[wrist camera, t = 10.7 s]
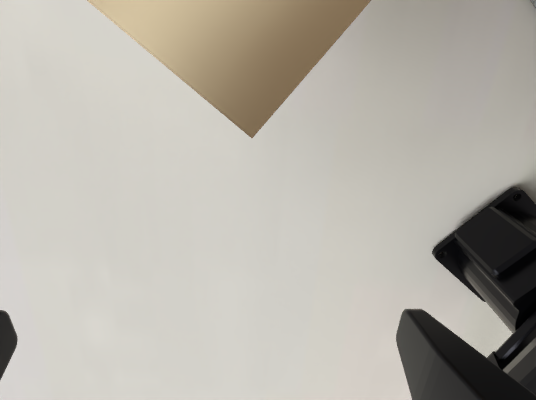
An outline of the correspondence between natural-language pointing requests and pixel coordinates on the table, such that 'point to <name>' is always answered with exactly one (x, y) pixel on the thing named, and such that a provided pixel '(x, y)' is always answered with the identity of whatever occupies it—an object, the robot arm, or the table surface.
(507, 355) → the robot arm
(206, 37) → the lid
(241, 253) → the table surface
